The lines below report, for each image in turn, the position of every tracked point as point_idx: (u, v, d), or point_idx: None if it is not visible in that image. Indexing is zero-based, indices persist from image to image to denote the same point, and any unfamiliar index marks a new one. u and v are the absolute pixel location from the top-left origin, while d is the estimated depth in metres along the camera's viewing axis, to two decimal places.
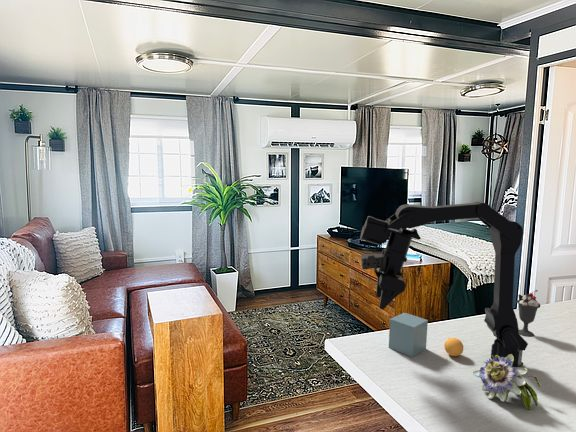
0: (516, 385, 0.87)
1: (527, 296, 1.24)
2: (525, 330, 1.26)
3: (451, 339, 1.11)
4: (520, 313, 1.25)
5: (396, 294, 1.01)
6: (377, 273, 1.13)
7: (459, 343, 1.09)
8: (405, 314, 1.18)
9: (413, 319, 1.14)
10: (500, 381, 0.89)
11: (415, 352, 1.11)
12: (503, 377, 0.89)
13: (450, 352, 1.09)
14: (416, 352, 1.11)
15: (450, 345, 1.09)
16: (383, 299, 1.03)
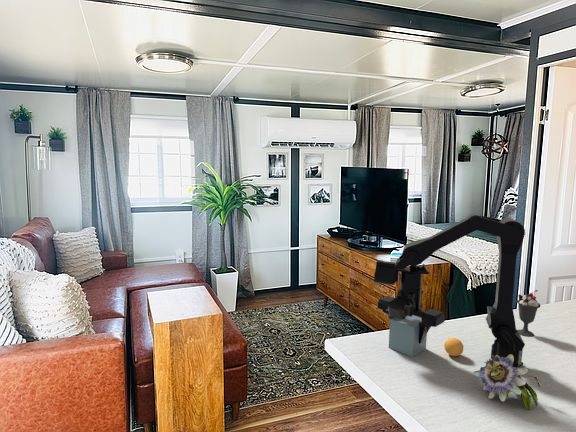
0: (516, 385, 0.87)
1: (527, 296, 1.24)
2: (525, 330, 1.26)
3: (451, 339, 1.11)
4: (520, 313, 1.25)
5: None
6: None
7: (459, 343, 1.09)
8: None
9: (413, 319, 1.14)
10: (500, 381, 0.89)
11: (415, 352, 1.11)
12: (503, 377, 0.89)
13: (450, 352, 1.09)
14: (416, 352, 1.11)
15: (450, 345, 1.09)
16: (423, 334, 1.10)
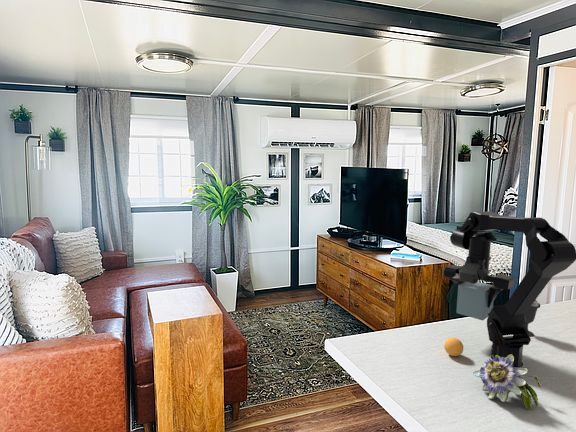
0: (516, 385, 0.87)
1: None
2: None
3: (451, 339, 1.11)
4: None
5: None
6: (458, 280, 1.20)
7: (459, 343, 1.09)
8: None
9: (480, 285, 1.18)
10: (500, 381, 0.89)
11: (485, 316, 1.15)
12: (503, 377, 0.89)
13: (450, 352, 1.09)
14: (485, 316, 1.15)
15: (450, 345, 1.09)
16: (493, 299, 1.14)
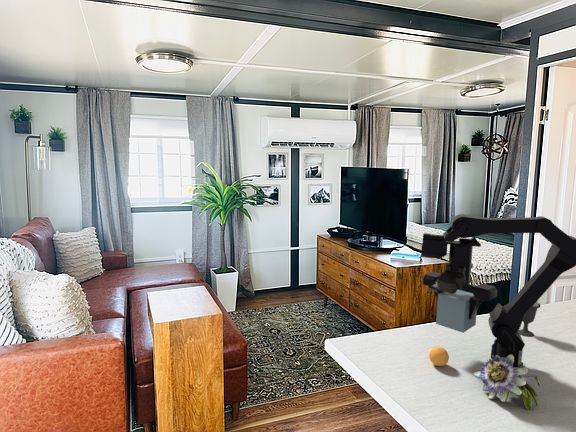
0: (516, 385, 0.87)
1: None
2: (525, 330, 1.26)
3: None
4: None
5: None
6: (438, 289, 1.11)
7: None
8: None
9: (462, 294, 1.09)
10: (500, 381, 0.89)
11: (466, 328, 1.06)
12: (503, 377, 0.89)
13: None
14: (467, 328, 1.06)
15: None
16: (474, 310, 1.05)
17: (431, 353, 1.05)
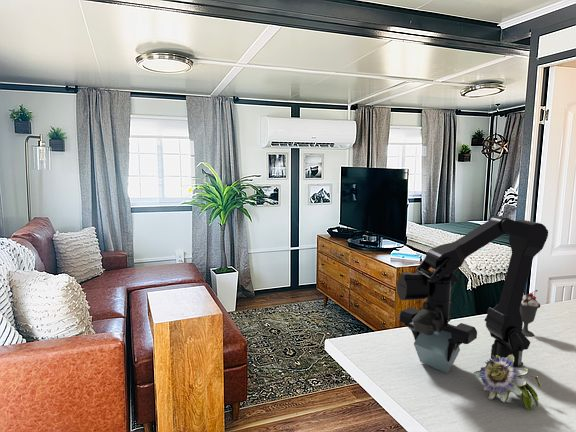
0: (517, 385, 0.87)
1: (527, 296, 1.24)
2: (525, 330, 1.26)
3: None
4: None
5: None
6: None
7: None
8: None
9: (439, 335, 1.01)
10: (501, 382, 0.89)
11: (450, 367, 1.02)
12: (504, 377, 0.89)
13: None
14: (451, 365, 1.02)
15: None
16: (453, 352, 0.98)
17: None
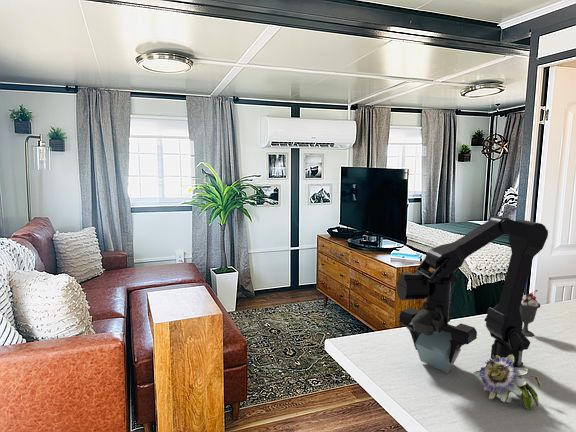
0: (517, 385, 0.87)
1: (527, 296, 1.24)
2: (525, 330, 1.26)
3: None
4: None
5: None
6: (413, 327, 1.04)
7: None
8: None
9: (441, 335, 1.01)
10: (501, 382, 0.89)
11: (450, 367, 1.02)
12: (504, 377, 0.89)
13: None
14: (451, 365, 1.02)
15: None
16: (455, 353, 0.98)
17: None
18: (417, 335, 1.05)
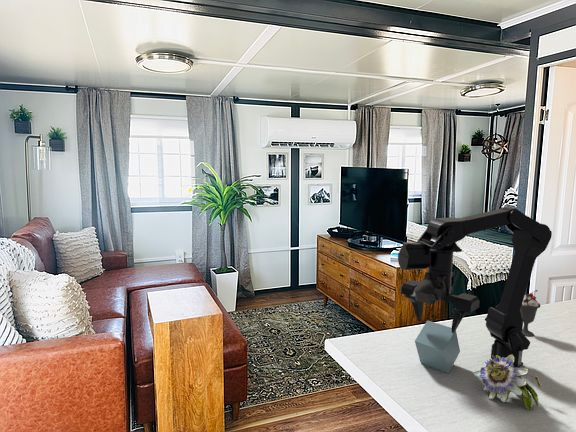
0: (517, 385, 0.87)
1: (527, 296, 1.24)
2: (525, 330, 1.26)
3: None
4: None
5: None
6: (415, 299, 1.03)
7: None
8: (429, 325, 1.05)
9: (439, 333, 1.02)
10: (501, 382, 0.89)
11: (450, 366, 1.02)
12: (504, 377, 0.89)
13: None
14: (451, 365, 1.02)
15: None
16: (457, 323, 0.97)
17: None
18: (419, 307, 1.05)
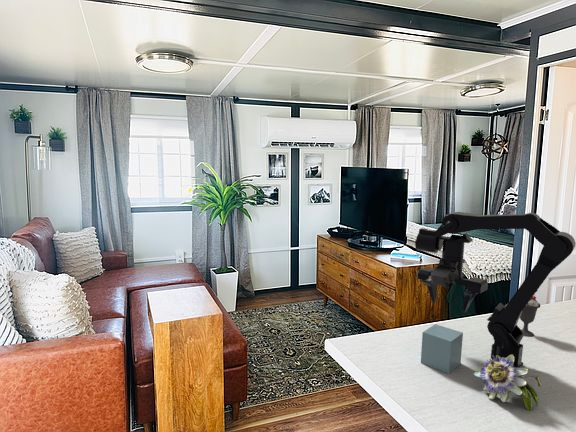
0: (517, 385, 0.87)
1: None
2: (525, 330, 1.26)
3: None
4: None
5: None
6: (430, 283, 1.17)
7: None
8: (437, 326, 1.09)
9: (447, 332, 1.06)
10: (501, 382, 0.89)
11: (451, 368, 1.03)
12: (504, 377, 0.89)
13: None
14: (452, 368, 1.03)
15: None
16: (468, 303, 1.10)
17: None
18: (434, 290, 1.18)
